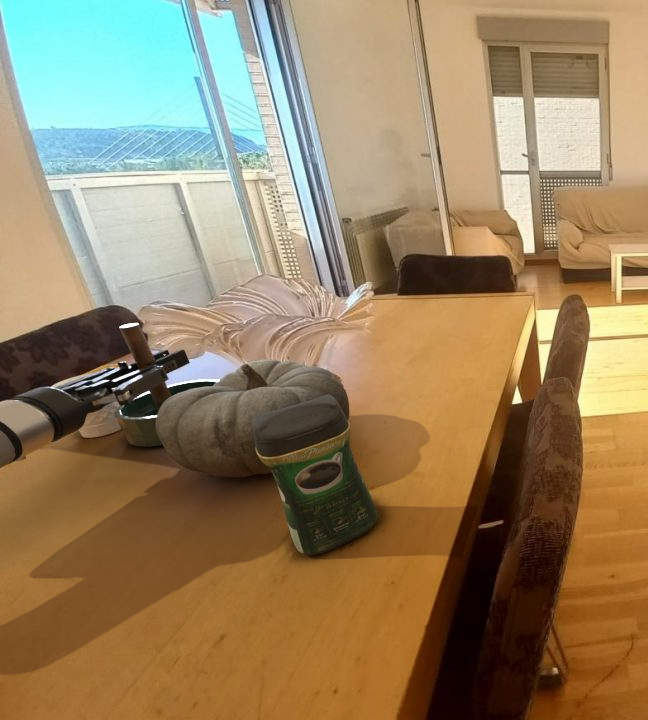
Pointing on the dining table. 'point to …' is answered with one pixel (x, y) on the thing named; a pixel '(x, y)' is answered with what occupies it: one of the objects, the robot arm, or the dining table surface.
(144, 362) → the stirring stick
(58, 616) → the dining table surface
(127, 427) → the bowl
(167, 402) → the gourd
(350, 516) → the coffee jar
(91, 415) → the white cup
